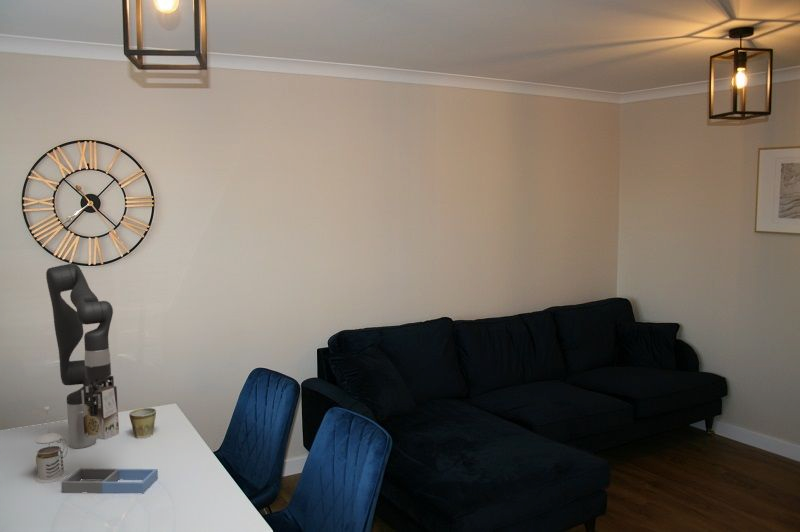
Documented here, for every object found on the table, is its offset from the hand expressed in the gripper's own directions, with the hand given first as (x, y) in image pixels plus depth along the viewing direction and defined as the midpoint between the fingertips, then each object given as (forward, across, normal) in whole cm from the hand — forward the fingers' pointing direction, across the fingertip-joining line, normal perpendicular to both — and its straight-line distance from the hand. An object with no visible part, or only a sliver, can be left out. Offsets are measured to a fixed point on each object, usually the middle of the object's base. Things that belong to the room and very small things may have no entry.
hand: (100, 411), depth 207 cm
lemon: (+25, -12, -29) cm, 40 cm away
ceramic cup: (+25, -48, -10) cm, 55 cm away
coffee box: (+8, 0, 0) cm, 8 cm away
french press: (+25, -8, -23) cm, 35 cm away
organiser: (+25, -1, +2) cm, 26 cm away
